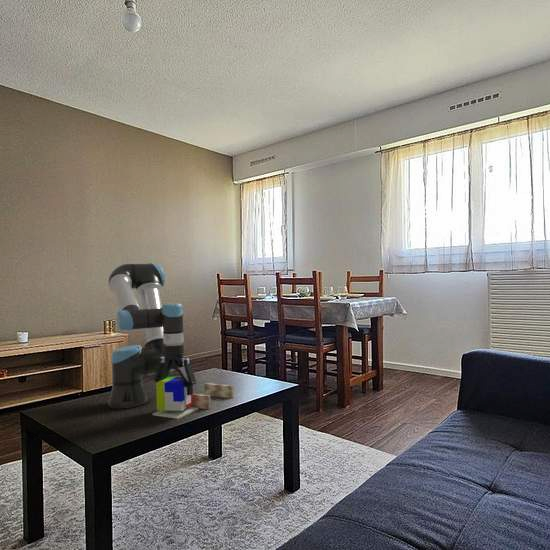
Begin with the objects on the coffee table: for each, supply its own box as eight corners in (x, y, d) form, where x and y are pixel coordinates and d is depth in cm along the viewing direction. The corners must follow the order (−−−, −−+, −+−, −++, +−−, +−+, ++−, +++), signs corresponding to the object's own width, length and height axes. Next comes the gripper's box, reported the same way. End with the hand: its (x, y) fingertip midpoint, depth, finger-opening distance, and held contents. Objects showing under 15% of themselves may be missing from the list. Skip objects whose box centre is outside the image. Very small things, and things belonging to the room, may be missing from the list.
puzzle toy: (182, 410, 151) (181, 383, 152) (156, 410, 154) (156, 382, 154) (193, 402, 161) (192, 377, 161) (169, 402, 163) (168, 376, 164)
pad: (152, 415, 155) (152, 413, 155) (174, 406, 166) (174, 404, 166) (177, 418, 149) (177, 417, 149) (198, 409, 160) (198, 407, 160)
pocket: (180, 405, 166) (180, 393, 166) (206, 394, 181) (206, 382, 181) (208, 409, 159) (208, 396, 160) (233, 397, 175) (233, 385, 175)
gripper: (143, 344, 160) (145, 401, 160) (192, 346, 149) (194, 408, 149) (157, 341, 167) (158, 396, 166) (204, 343, 156) (206, 402, 155)
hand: (175, 402), depth 158 cm, fingers closed on puzzle toy, 11 cm apart
